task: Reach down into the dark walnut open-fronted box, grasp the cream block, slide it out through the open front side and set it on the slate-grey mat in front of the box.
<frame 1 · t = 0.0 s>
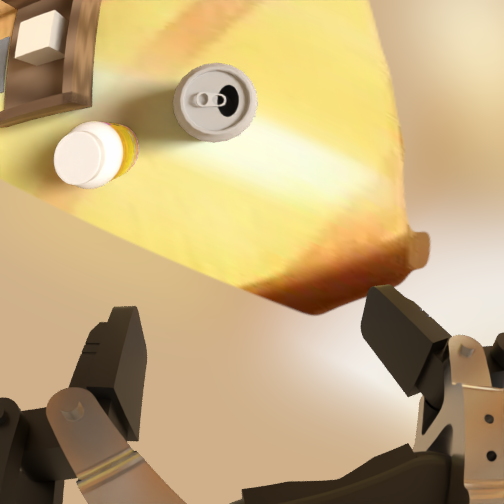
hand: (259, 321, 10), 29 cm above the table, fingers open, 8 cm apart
can: (210, 111, 33), on the table
walnut box: (50, 47, 25), on the table
supplement bottle: (115, 149, 33), on the table
cream block: (53, 44, 24), point 1 cm above the table, touching walnut box
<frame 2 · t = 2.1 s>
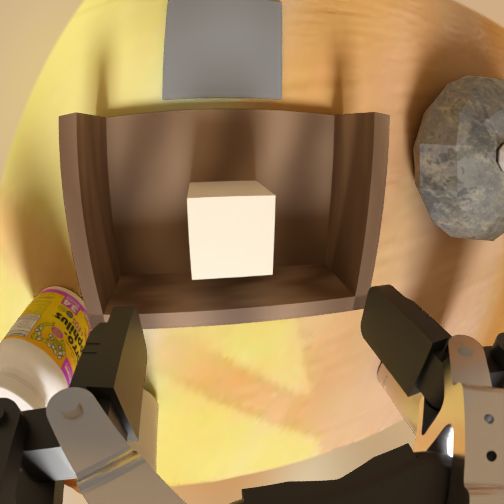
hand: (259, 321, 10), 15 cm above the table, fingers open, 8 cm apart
can: (128, 396, 30), on the table
walnut box: (222, 198, 23), on the table
slate mat: (223, 44, 19), on the table
supplement bottle: (65, 312, 25), on the table
decorative stone: (462, 153, 26), on the table
cream block: (223, 213, 23), point 1 cm above the table, touching walnut box
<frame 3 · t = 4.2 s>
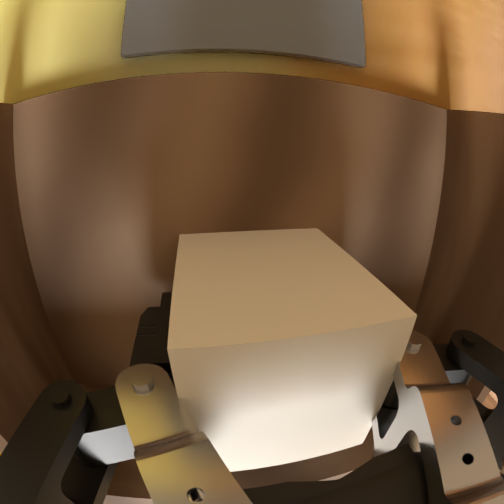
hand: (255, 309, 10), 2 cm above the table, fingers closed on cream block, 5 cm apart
walnut box: (247, 260, 12), on the table
cream block: (250, 292, 12), point 1 cm above the table, touching gripper, walnut box
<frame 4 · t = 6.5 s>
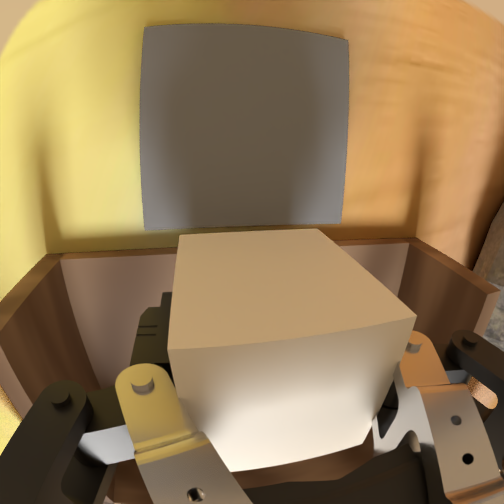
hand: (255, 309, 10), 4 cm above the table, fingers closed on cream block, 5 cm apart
walnut box: (244, 359, 16), on the table
slate mat: (247, 122, 12), on the table
cream block: (250, 293, 12), point 3 cm above the table, touching gripper
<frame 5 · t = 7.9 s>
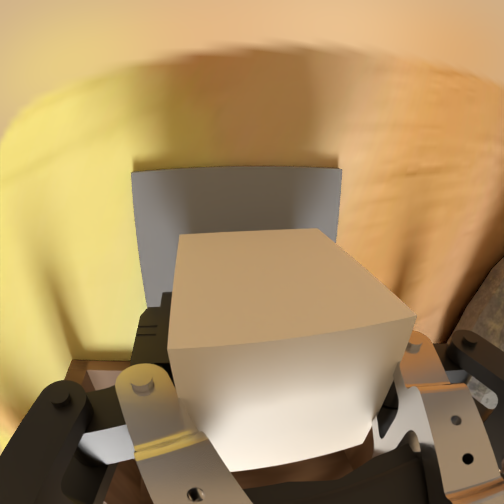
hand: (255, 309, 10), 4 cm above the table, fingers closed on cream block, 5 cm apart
walnut box: (242, 425, 19), on the table
slate mat: (240, 265, 14), on the table
decorative stone: (494, 312, 21), on the table
cream block: (250, 293, 12), point 3 cm above the table, touching gripper
when the fingers open (3 cm above the table, at t = 8.9 s): cream block drops 1 cm, resting on slate mat.
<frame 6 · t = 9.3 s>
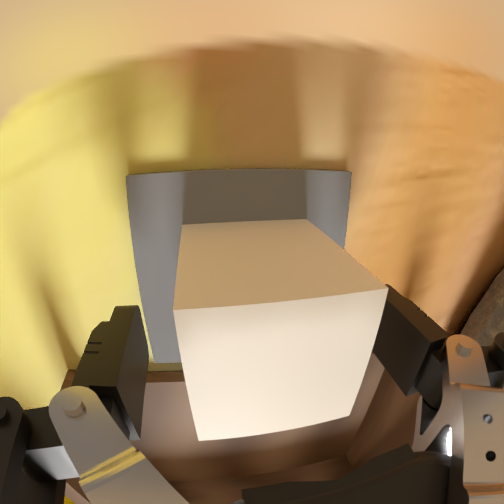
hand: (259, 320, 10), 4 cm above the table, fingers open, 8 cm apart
walnut box: (244, 435, 18), on the table
slate mat: (242, 273, 13), on the table
decorative stone: (498, 319, 20), on the table
cream block: (246, 278, 13), resting on slate mat
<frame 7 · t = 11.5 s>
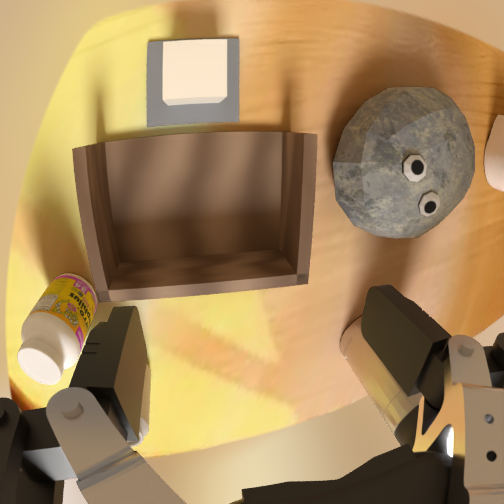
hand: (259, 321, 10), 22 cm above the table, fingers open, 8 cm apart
can: (125, 365, 37), on the table
walnut box: (195, 201, 30), on the table
slate mat: (192, 80, 25), on the table
supplement bottle: (74, 294, 31), on the table
decorative stone: (391, 158, 33), on the table
cream block: (193, 79, 25), resting on slate mat
toilet tissue: (496, 156, 36), on the table
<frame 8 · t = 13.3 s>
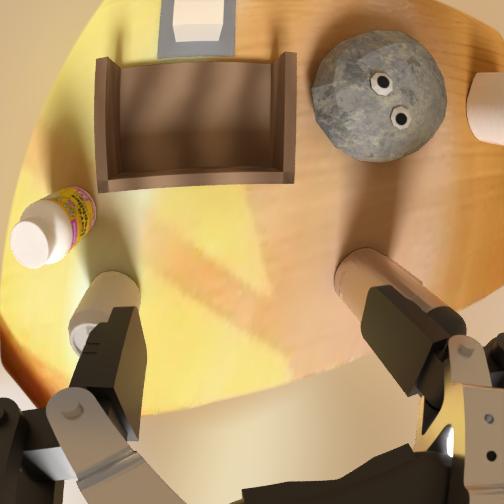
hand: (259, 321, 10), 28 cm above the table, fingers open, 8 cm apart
can: (116, 291, 38), on the table
walnut box: (194, 118, 32), on the table
slate mat: (197, 24, 27), on the table
supplement bottle: (75, 210, 33), on the table
decorative stone: (369, 97, 35), on the table
cream block: (197, 23, 27), resting on slate mat
toilet tissue: (479, 111, 38), on the table
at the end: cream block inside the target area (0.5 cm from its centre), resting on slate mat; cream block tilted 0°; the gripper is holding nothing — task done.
